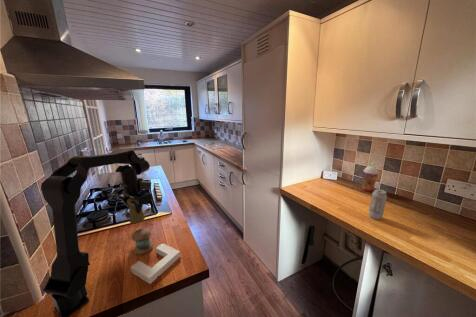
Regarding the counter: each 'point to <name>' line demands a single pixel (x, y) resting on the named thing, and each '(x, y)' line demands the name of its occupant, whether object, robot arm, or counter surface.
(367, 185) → the smoothie
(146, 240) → the brown spool-shaped piece
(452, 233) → the counter surface
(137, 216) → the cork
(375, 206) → the energy drink can
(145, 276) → the notched board
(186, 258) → the counter surface
